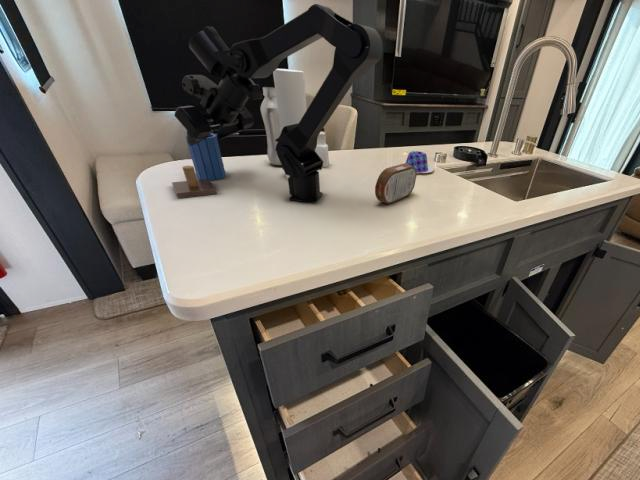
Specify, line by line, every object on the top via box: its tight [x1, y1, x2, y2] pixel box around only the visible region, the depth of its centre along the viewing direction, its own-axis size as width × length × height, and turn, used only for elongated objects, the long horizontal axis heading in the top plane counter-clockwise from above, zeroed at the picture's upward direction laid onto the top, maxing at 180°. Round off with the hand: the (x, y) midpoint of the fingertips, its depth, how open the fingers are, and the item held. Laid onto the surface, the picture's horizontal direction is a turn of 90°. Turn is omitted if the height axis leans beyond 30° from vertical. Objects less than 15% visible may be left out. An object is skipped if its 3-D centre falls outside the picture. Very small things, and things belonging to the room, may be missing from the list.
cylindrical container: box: [272, 68, 308, 179], centre depth 85 cm, size 7×7×25 cm
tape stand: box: [171, 165, 217, 199], centre depth 76 cm, size 8×8×6 cm
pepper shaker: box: [315, 131, 330, 168], centre depth 100 cm, size 4×4×10 cm
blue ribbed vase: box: [185, 132, 227, 181], centre depth 83 cm, size 7×7×10 cm
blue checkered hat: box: [398, 150, 435, 174], centre depth 107 cm, size 12×12×5 cm
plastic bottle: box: [259, 86, 282, 166], centre depth 94 cm, size 6×7×20 cm
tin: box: [374, 162, 418, 205], centre depth 82 cm, size 15×3×8 cm, turn 145°
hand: (204, 141), depth 81 cm, fingers open, 9 cm apart
